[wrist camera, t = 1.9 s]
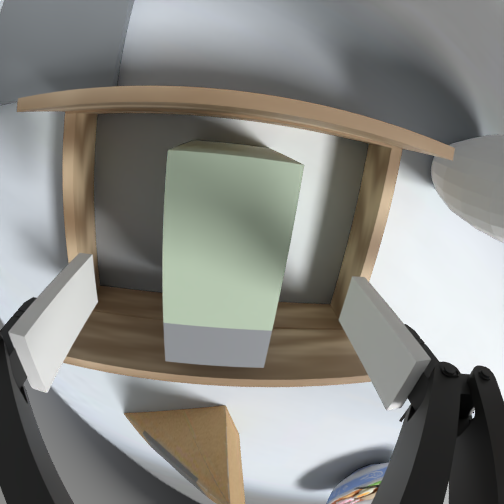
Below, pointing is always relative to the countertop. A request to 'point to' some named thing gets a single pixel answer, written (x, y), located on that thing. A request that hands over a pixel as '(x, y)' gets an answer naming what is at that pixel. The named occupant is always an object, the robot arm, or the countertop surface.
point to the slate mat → (60, 45)
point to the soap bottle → (474, 183)
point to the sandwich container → (198, 448)
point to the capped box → (225, 250)
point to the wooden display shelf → (151, 303)
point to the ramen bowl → (359, 486)
